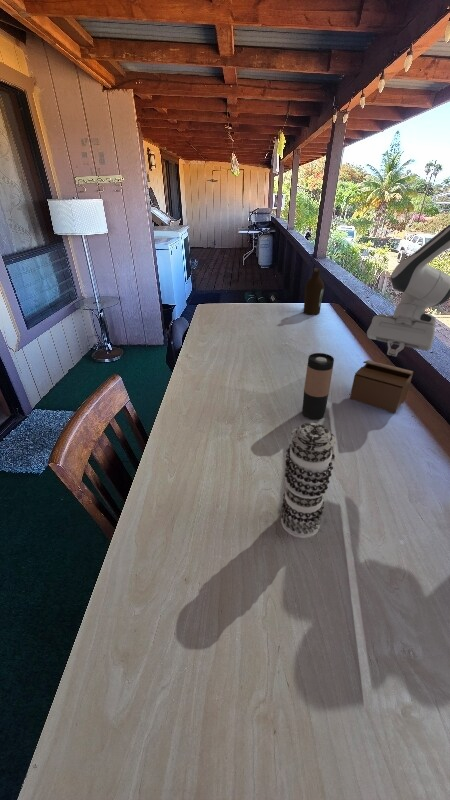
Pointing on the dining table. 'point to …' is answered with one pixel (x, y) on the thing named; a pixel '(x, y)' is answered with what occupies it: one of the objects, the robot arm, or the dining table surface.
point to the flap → (388, 367)
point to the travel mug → (317, 385)
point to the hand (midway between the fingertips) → (391, 354)
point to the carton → (380, 387)
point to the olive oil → (313, 294)
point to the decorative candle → (306, 478)
